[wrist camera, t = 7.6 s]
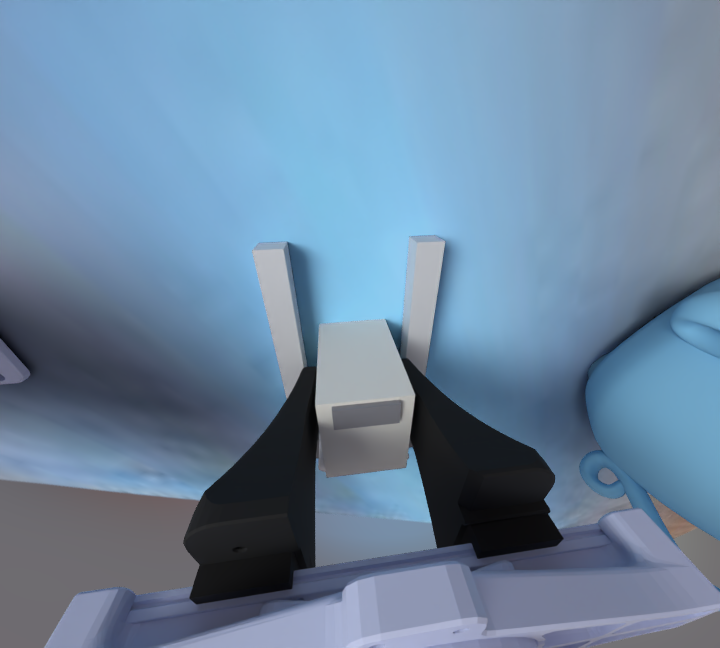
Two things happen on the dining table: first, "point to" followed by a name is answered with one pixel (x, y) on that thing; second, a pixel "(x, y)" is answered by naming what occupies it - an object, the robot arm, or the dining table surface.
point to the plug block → (362, 398)
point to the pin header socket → (286, 320)
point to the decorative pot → (662, 414)
